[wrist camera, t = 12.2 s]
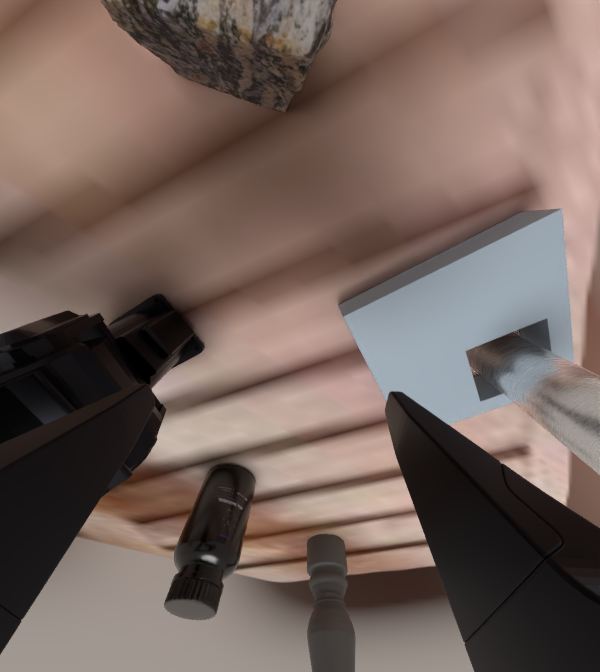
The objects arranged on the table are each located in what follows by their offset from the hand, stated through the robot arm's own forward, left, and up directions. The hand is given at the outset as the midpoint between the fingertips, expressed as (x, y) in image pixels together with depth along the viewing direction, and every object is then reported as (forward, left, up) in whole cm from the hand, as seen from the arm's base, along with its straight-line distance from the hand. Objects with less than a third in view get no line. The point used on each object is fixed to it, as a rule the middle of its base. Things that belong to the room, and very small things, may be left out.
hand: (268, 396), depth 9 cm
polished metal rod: (+14, -13, -13) cm, 23 cm away
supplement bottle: (-20, -18, -13) cm, 30 cm away
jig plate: (+11, -10, -13) cm, 20 cm away
